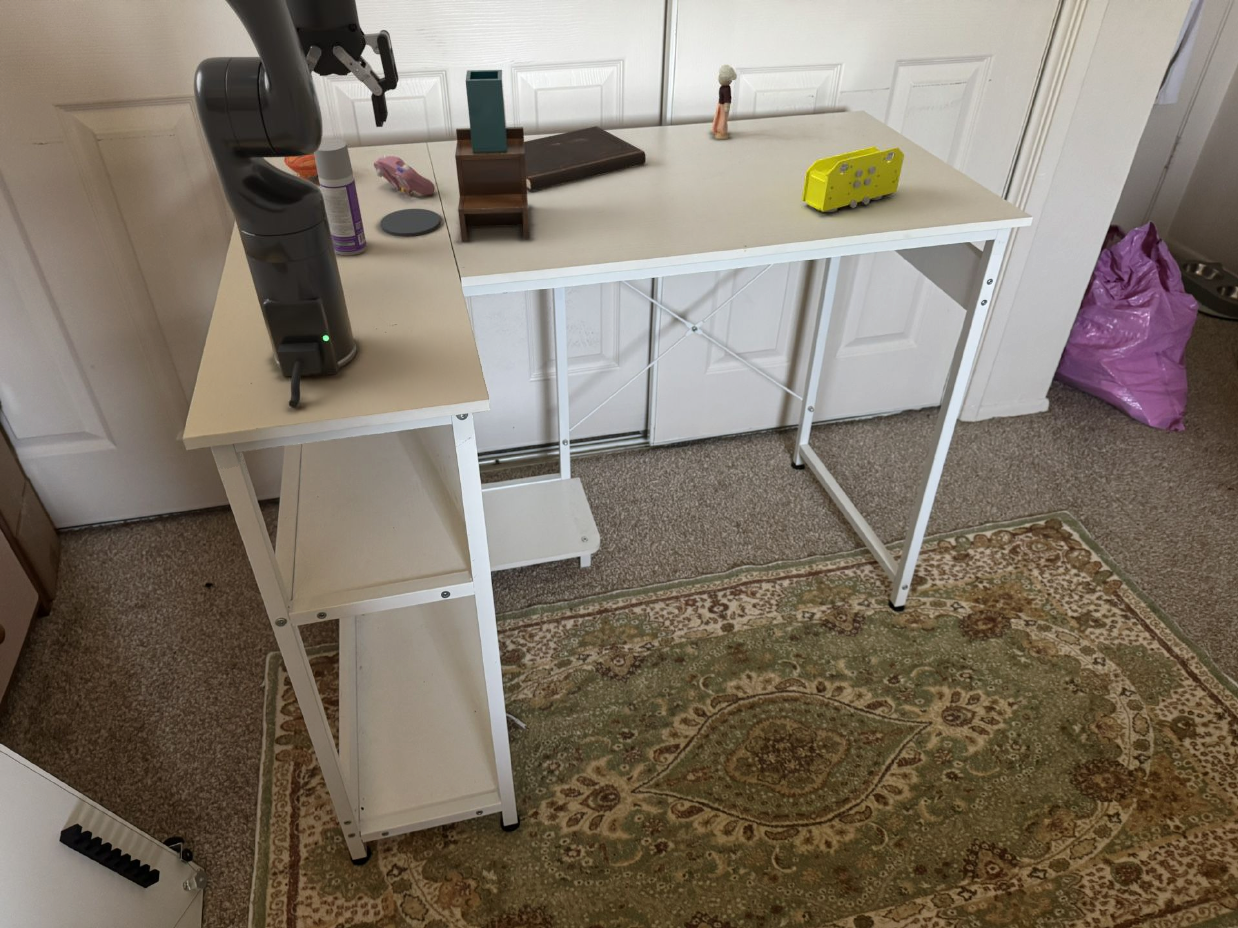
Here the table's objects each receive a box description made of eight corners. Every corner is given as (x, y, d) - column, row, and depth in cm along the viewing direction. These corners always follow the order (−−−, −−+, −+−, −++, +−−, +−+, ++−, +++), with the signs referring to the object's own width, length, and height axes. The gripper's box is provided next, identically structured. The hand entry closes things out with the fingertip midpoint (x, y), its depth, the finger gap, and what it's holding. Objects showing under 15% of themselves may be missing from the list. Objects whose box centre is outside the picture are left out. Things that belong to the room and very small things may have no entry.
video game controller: (386, 192, 146) (363, 160, 140) (404, 174, 147) (382, 141, 141) (420, 210, 140) (398, 177, 135) (439, 190, 141) (418, 157, 136)
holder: (507, 152, 126) (501, 80, 120) (472, 153, 126) (465, 80, 119) (507, 140, 130) (502, 69, 124) (473, 141, 129) (466, 70, 123)
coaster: (438, 235, 130) (438, 232, 129) (377, 237, 129) (377, 234, 129) (442, 210, 137) (441, 207, 136) (384, 212, 136) (383, 209, 136)
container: (353, 238, 129) (333, 136, 119) (373, 247, 126) (354, 144, 117) (327, 249, 126) (304, 145, 116) (347, 258, 123) (325, 153, 114)
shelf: (529, 239, 129) (524, 155, 121) (461, 241, 128) (452, 157, 120) (528, 206, 138) (523, 127, 130) (464, 208, 137) (456, 128, 129)
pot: (336, 163, 151) (330, 128, 145) (339, 190, 146) (332, 155, 141) (287, 166, 149) (279, 130, 144) (289, 193, 144) (281, 157, 139)
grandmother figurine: (706, 130, 167) (711, 60, 159) (725, 129, 167) (731, 59, 159) (716, 144, 161) (722, 72, 153) (736, 143, 161) (743, 71, 153)
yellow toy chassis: (823, 218, 136) (832, 165, 130) (799, 205, 139) (807, 153, 134) (897, 197, 142) (908, 146, 137) (872, 186, 146) (882, 135, 141)
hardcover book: (486, 163, 153) (485, 149, 151) (596, 138, 163) (596, 126, 161) (531, 193, 142) (530, 179, 141) (645, 165, 152) (646, 152, 151)
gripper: (241, -15, 92) (279, 139, 102) (378, -17, 93) (401, 135, 103) (256, -30, 97) (290, 117, 108) (385, -32, 99) (406, 114, 109)
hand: (344, 126), depth 106 cm, fingers open, 8 cm apart
